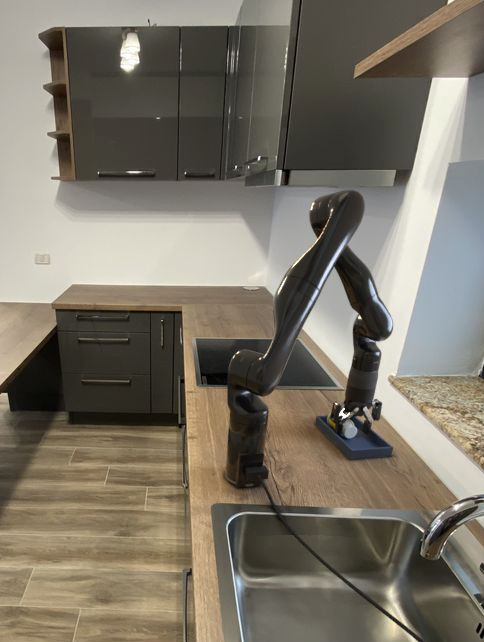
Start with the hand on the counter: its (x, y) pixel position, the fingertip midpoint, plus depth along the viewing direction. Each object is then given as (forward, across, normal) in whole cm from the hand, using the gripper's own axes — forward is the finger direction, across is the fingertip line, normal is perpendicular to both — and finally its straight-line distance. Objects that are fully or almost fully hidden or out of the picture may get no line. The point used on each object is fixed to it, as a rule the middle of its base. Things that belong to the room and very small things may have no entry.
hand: (351, 433), depth 131 cm
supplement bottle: (-1, -1, +8) cm, 9 cm away
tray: (+2, 0, 0) cm, 2 cm away
